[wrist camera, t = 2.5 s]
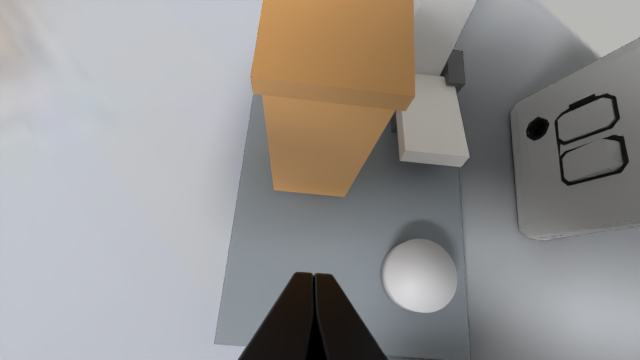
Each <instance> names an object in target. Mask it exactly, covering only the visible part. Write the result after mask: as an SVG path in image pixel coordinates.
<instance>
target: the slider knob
mask: <svg viewBox="0 0 640 360" xmlns="http://www.w3.org/2000/svg"><path fill="white" fill-rule="evenodd" d="M250 77H251V83H252V89H253V94H258V95H262V99H263V107H264V115H265V123H266V131H267V139H268V147H269V155H270V163H271V171H272V180H273V188H274V190H276V191H286V192H296V193H307V194H317V195H327V196H338V197H345V195H346V194H347V192H348V190H349V189H350V187H351V185H352V184H353V182H354V180H355V178H356V177H357V175H358V173H359V172H360V170H361V168H362V166H363V165H364V163H365V161H366V160H367V158H368V156H369V155H370V153H371V151H372V149H373V148H374V146H375V144H376V143H377V141H378V139H379V138H380V136H381V134H382V132H383V131H384V129H385V127H386V126H387V124H388V122H389V120H390V119H391V117H392V115H393V114H394V112H395V110H398V111H406V110H407V108H408V107H409V105H410V104H411V102H412V101H413V99H414V98H415V53H414V2H413V0H263V4H262V10H261V16H260V22H259V28H258V34H257V40H256V46H255V52H254V58H253V64H252V70H251V76H250Z"/></svg>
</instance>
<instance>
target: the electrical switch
mask: <svg viewBox="0 0 640 360" xmlns="http://www.w3.org/2000/svg"><path fill="white" fill-rule="evenodd" d="M510 118H511V131H512V145H513V158H514V171H515V185H516V198H517V211H518V224H519V230H520V232H521V233H523V234H524V235H525V236H527V237H529V238H532V239H535V240H550V239H556V238H560V237H568V236H575V235H582V234H589V233H596V232H603V231H609V230H616V229H623V228H630V227H637V226H640V38H638V39H636V40H634V41H632V42H630V43H628V44H626V45H625V46H623V47H621V48H619V49H617V50H615V51H613V52H611V53H609V54H608V55H606V56H604V57H602V58H600V59H598V60H596V61H594V62H593V63H591V64H589V65H587V66H585V67H583V68H581V69H579V70H577V71H576V72H574V73H572V74H570V75H568V76H566V77H564V78H562V79H560V80H559V81H557V82H555V83H553V84H551V85H549V86H547V87H545V88H544V89H542V90H540V91H538V92H536V93H534V94H532V95H530V96H528V97H527V98H525V99H523V100H521V101H519V102H517V103H516V105H515V106H514V108H513V109H512V111H511V114H510Z"/></svg>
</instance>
